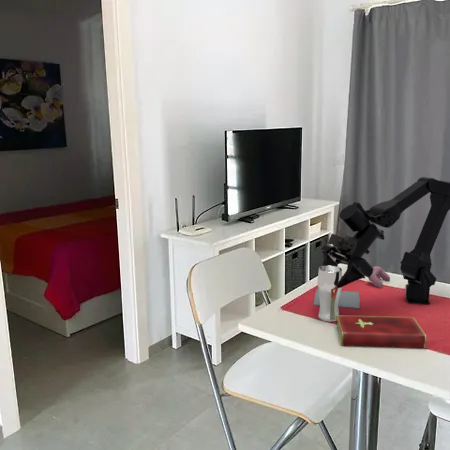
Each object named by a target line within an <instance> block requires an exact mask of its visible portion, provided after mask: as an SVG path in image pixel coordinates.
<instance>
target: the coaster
mask: <svg viewBox="0 0 450 450" xmlns="http://www.w3.org/2000/svg"><path fill="white" fill-rule="evenodd" d="M313 306H314V307H320V299H319V293H318V288H317V289H315V294H314V301H313ZM340 308H341V309H354V310H361V309H360V308H361V305H360V292H359V291H347V290H346V291H345V290H342V291H341V296H340V300H339V306H338V309H340Z"/></svg>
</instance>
